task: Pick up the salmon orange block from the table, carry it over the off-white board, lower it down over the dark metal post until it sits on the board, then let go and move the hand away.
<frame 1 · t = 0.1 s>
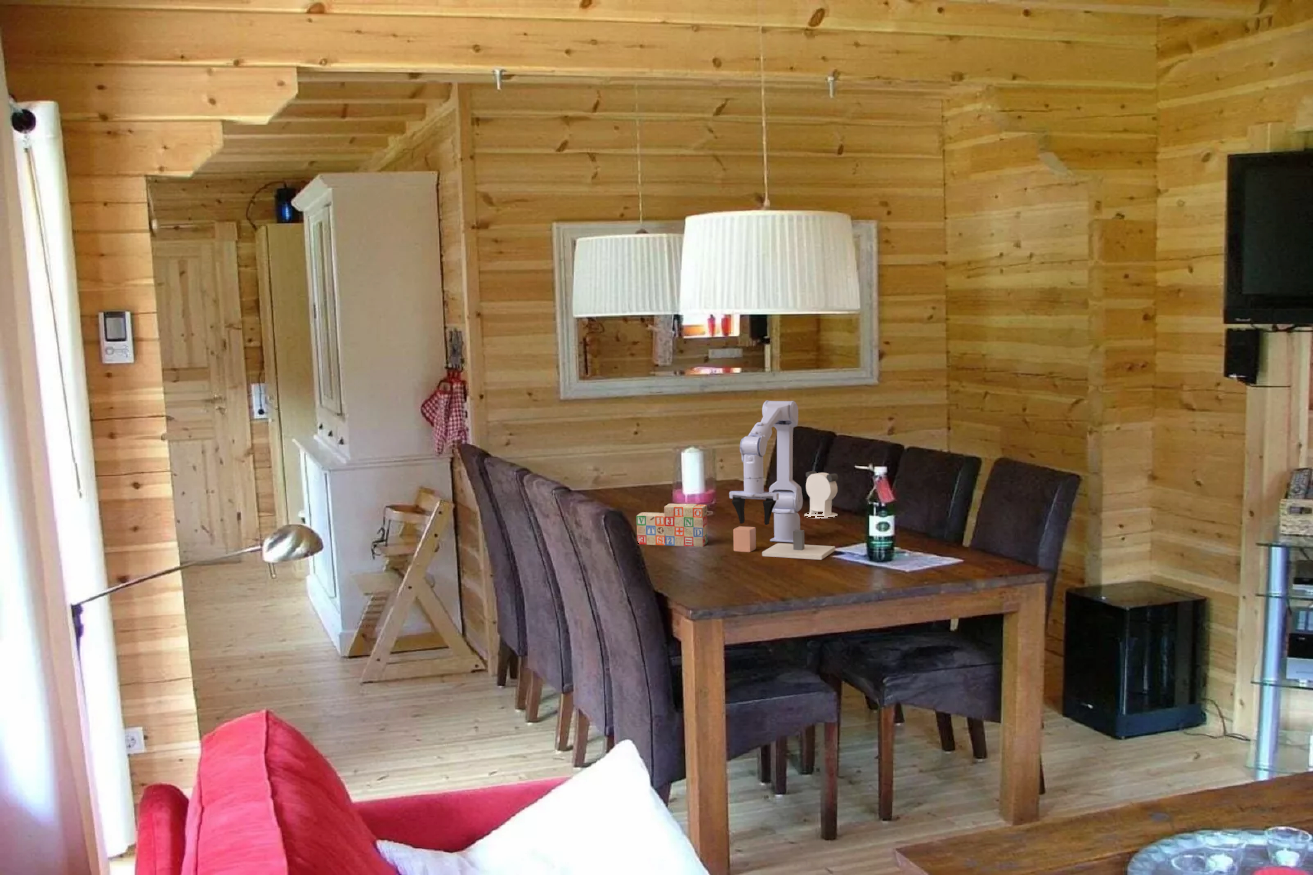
hand: (754, 523, 367), 10 cm above the table, tool pointing down, fingers open, 7 cm apart
beige rounded figure: (821, 516, 434), on the table
stack of blocks: (672, 544, 392), on the table
salmon orange block: (744, 549, 379), on the table
post board: (798, 553, 372), on the table
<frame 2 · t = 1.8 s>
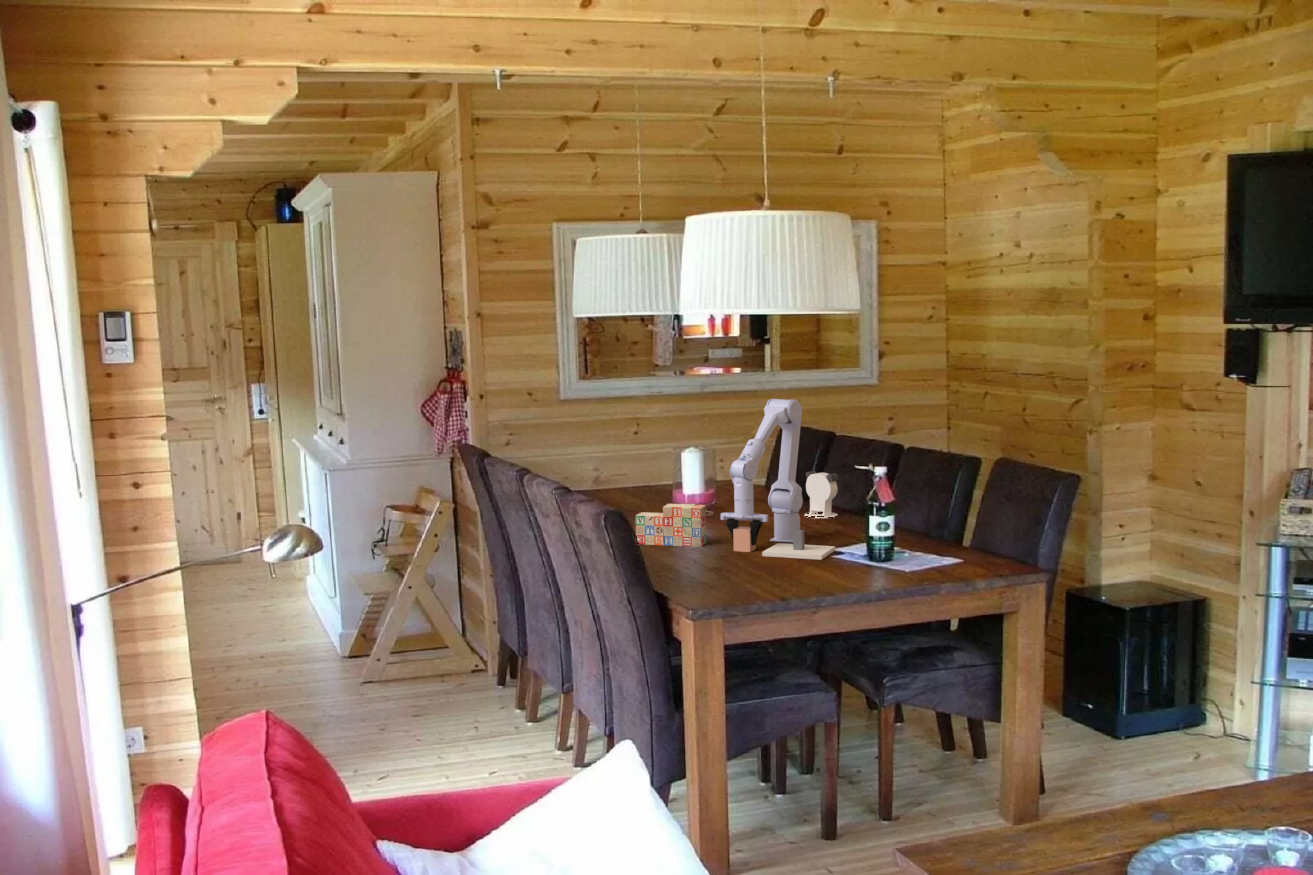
hand: (744, 544, 379), 2 cm above the table, tool pointing down, fingers closed on salmon orange block, 5 cm apart
salmon orange block: (744, 549, 379), on the table, touching gripper
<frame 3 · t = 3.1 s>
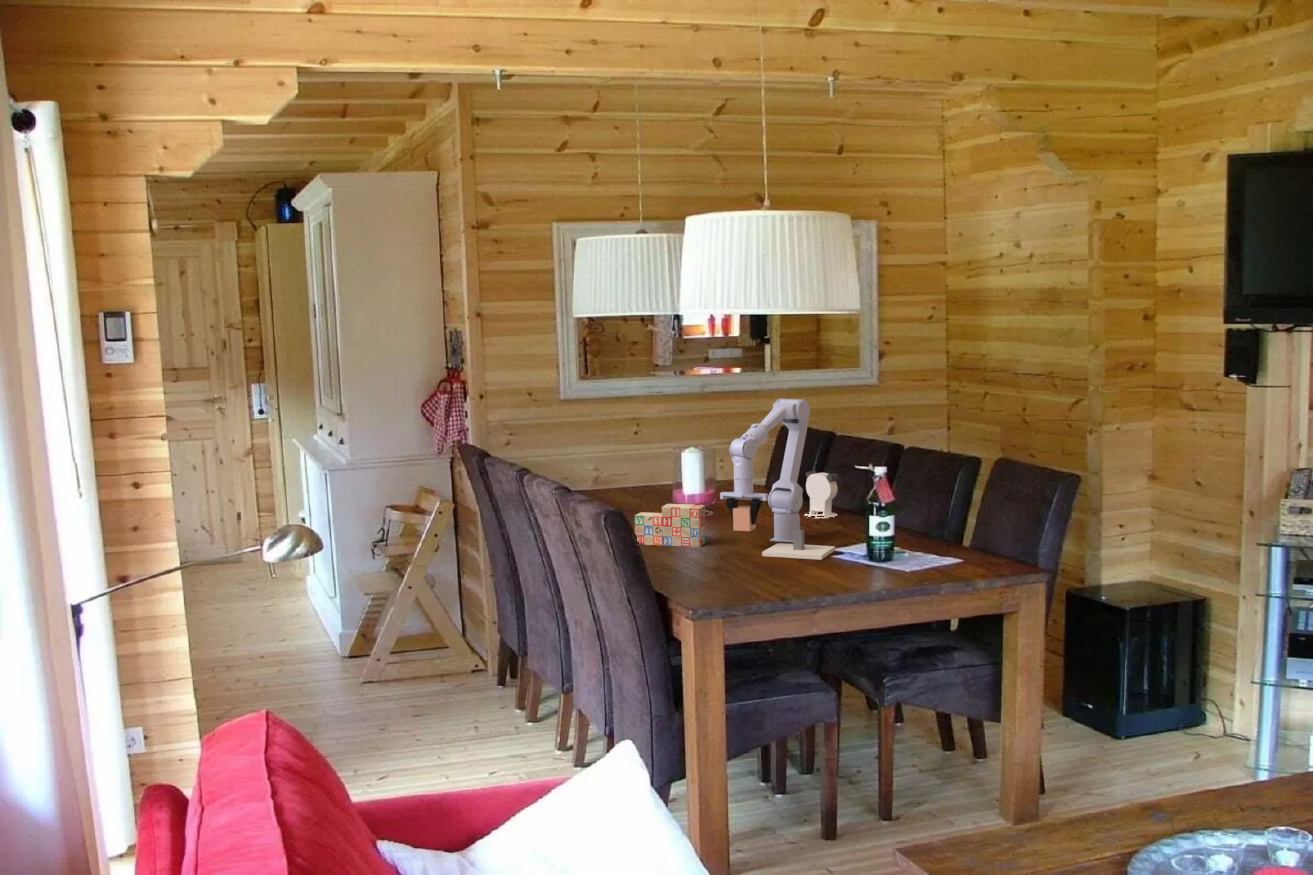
hand: (744, 523, 379), 8 cm above the table, tool pointing down, fingers closed on salmon orange block, 5 cm apart
salmon orange block: (744, 529, 379), point 6 cm above the table, touching gripper
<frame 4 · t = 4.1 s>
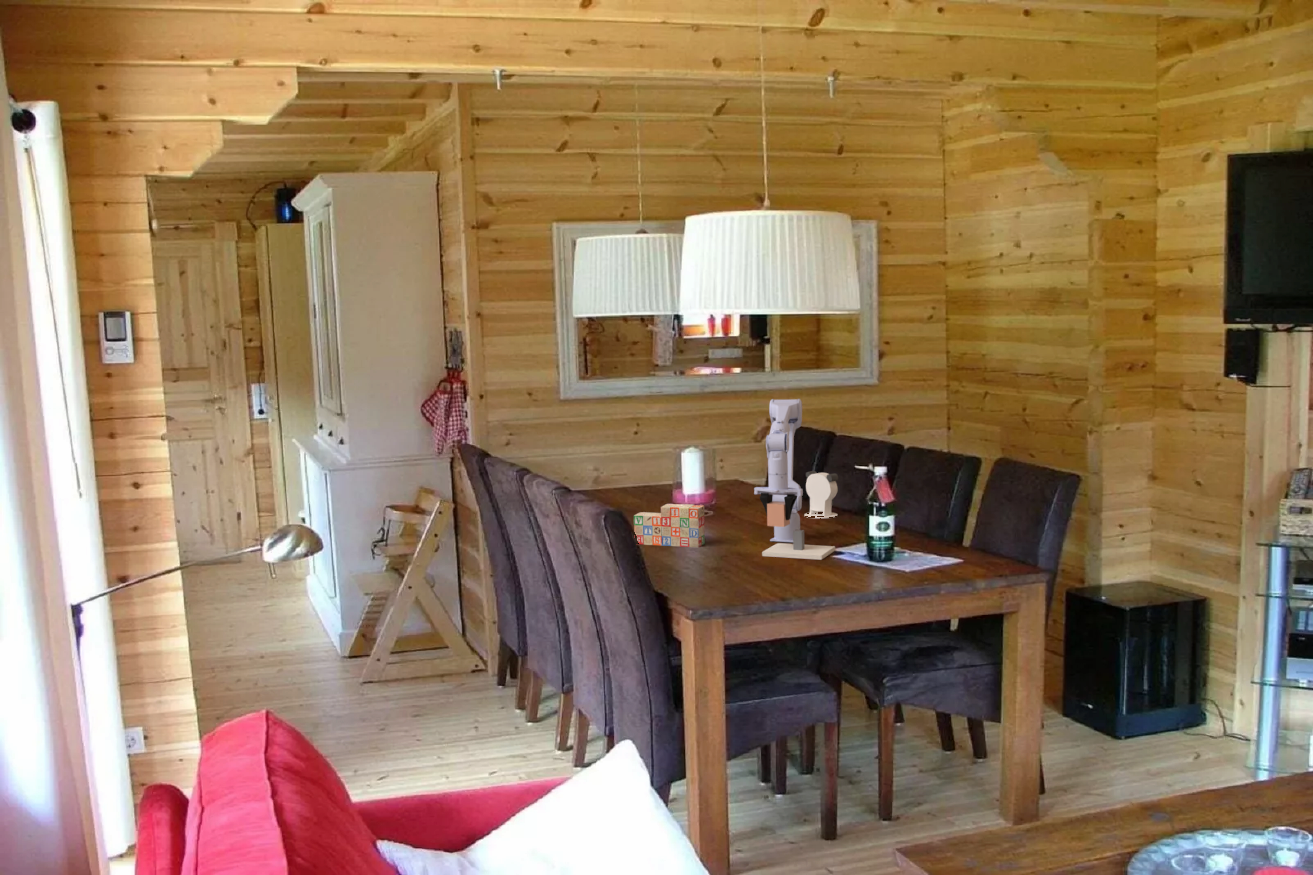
hand: (778, 519, 374), 10 cm above the table, tool pointing down, fingers closed on salmon orange block, 5 cm apart
salmon orange block: (778, 524, 374), point 8 cm above the table, touching gripper
everything else where it was.
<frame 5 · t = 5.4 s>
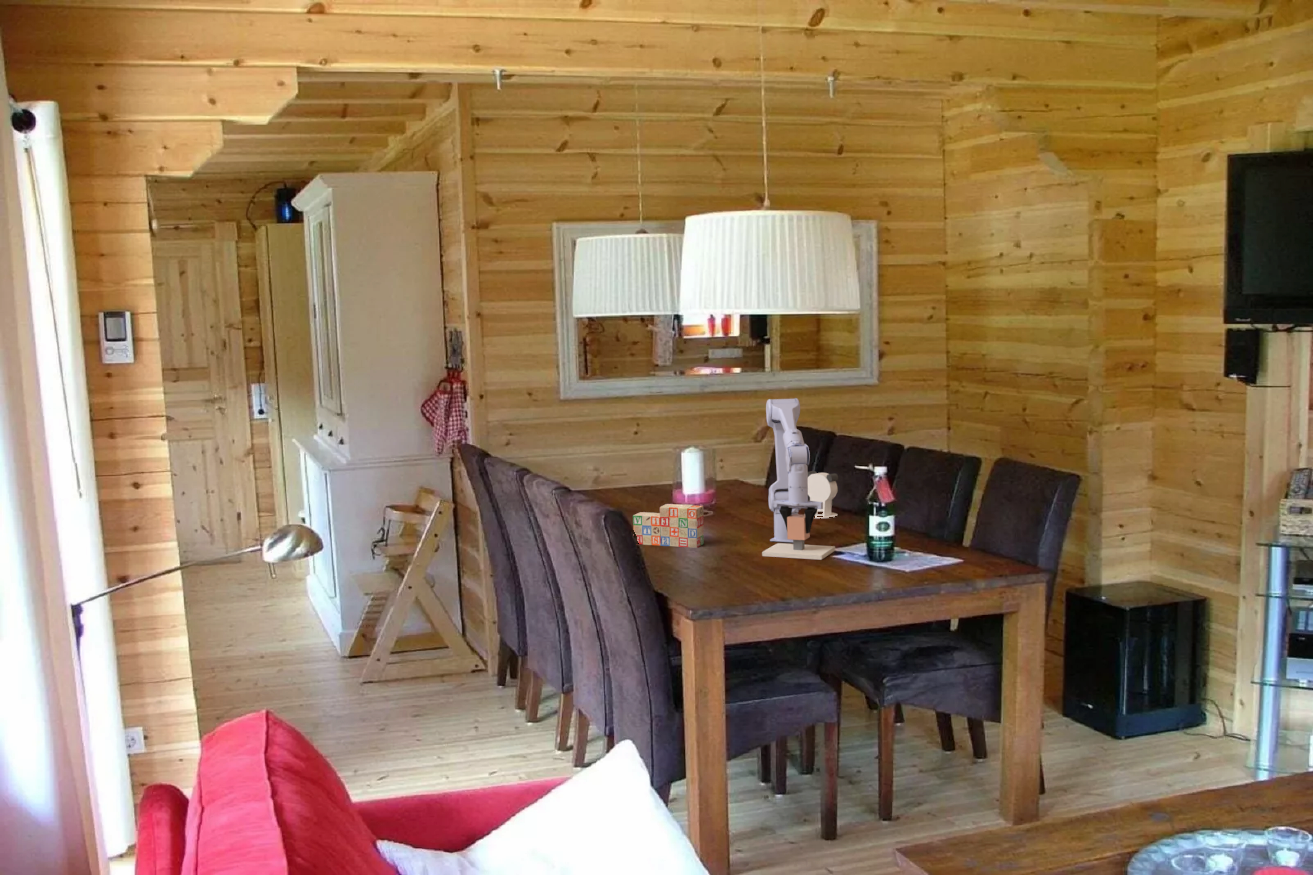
hand: (798, 532, 372), 6 cm above the table, tool pointing down, fingers closed on salmon orange block, 5 cm apart
salmon orange block: (798, 538, 372), point 5 cm above the table, touching gripper
when the fingers open (4 cm above the table, at t = 6.4 s): salmon orange block drops 1 cm, resting on post board.
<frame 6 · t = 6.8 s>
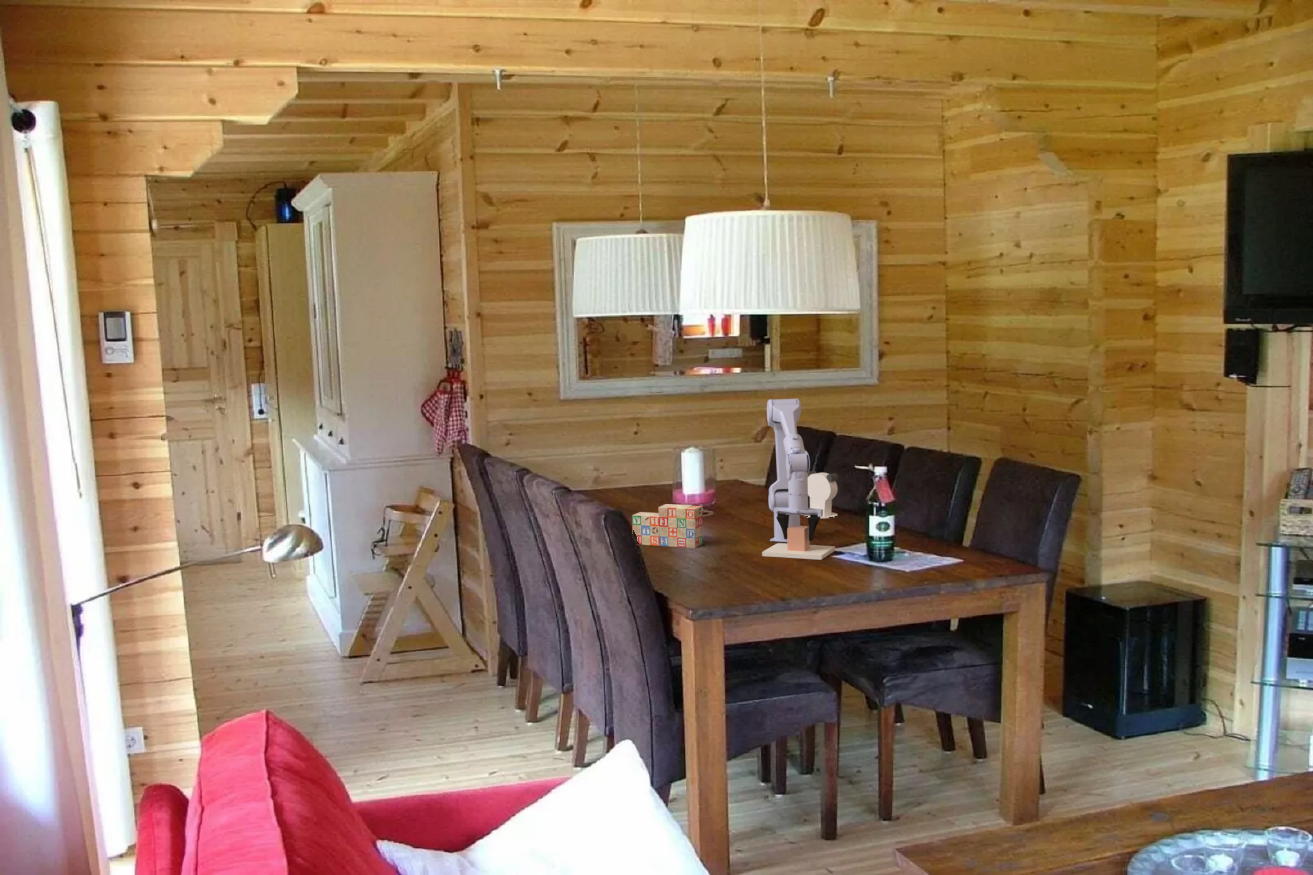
hand: (798, 539, 372), 4 cm above the table, tool pointing down, fingers open, 7 cm apart
salmon orange block: (798, 549, 372), point 1 cm above the table, touching post board
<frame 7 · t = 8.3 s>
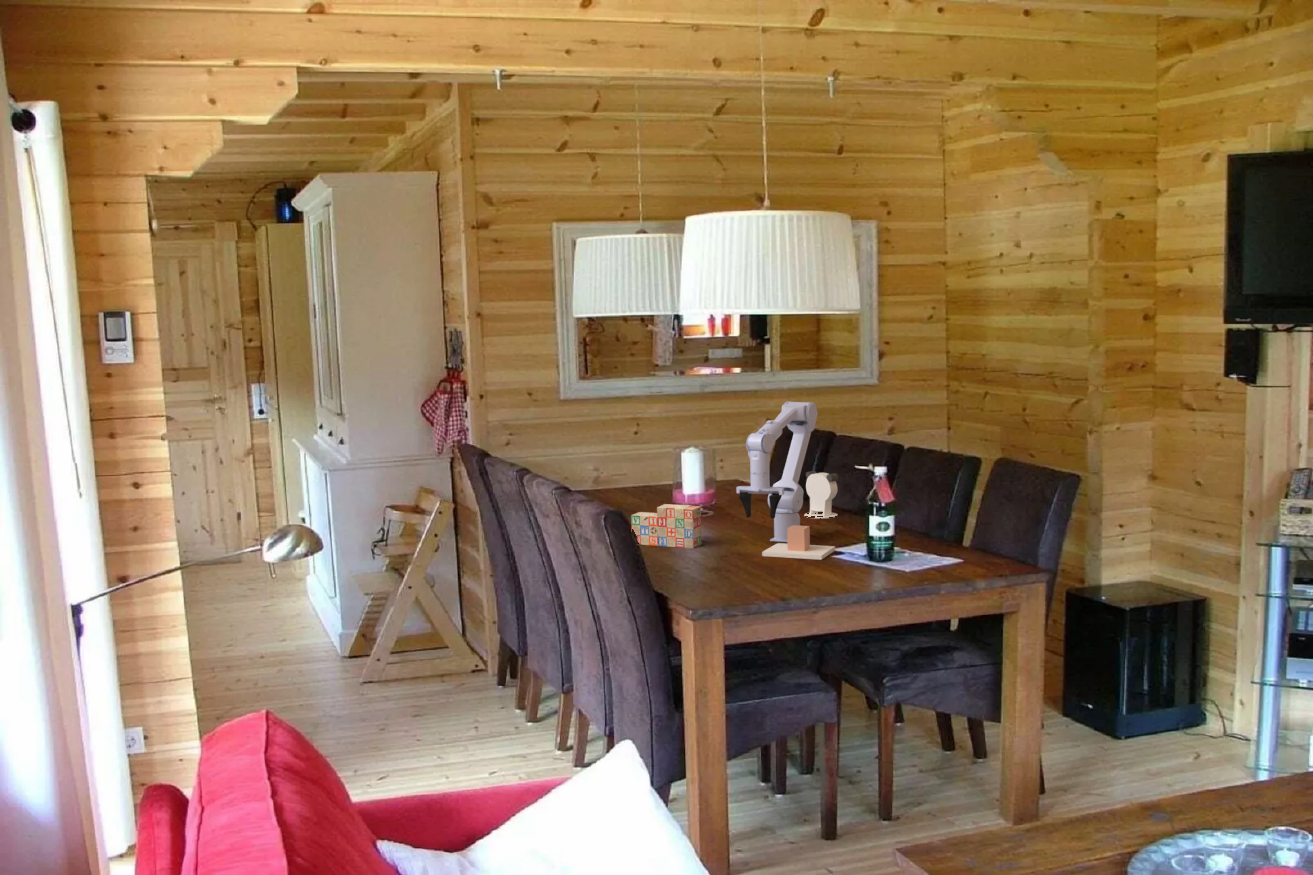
hand: (760, 517, 380), 9 cm above the table, tool pointing down, fingers open, 7 cm apart
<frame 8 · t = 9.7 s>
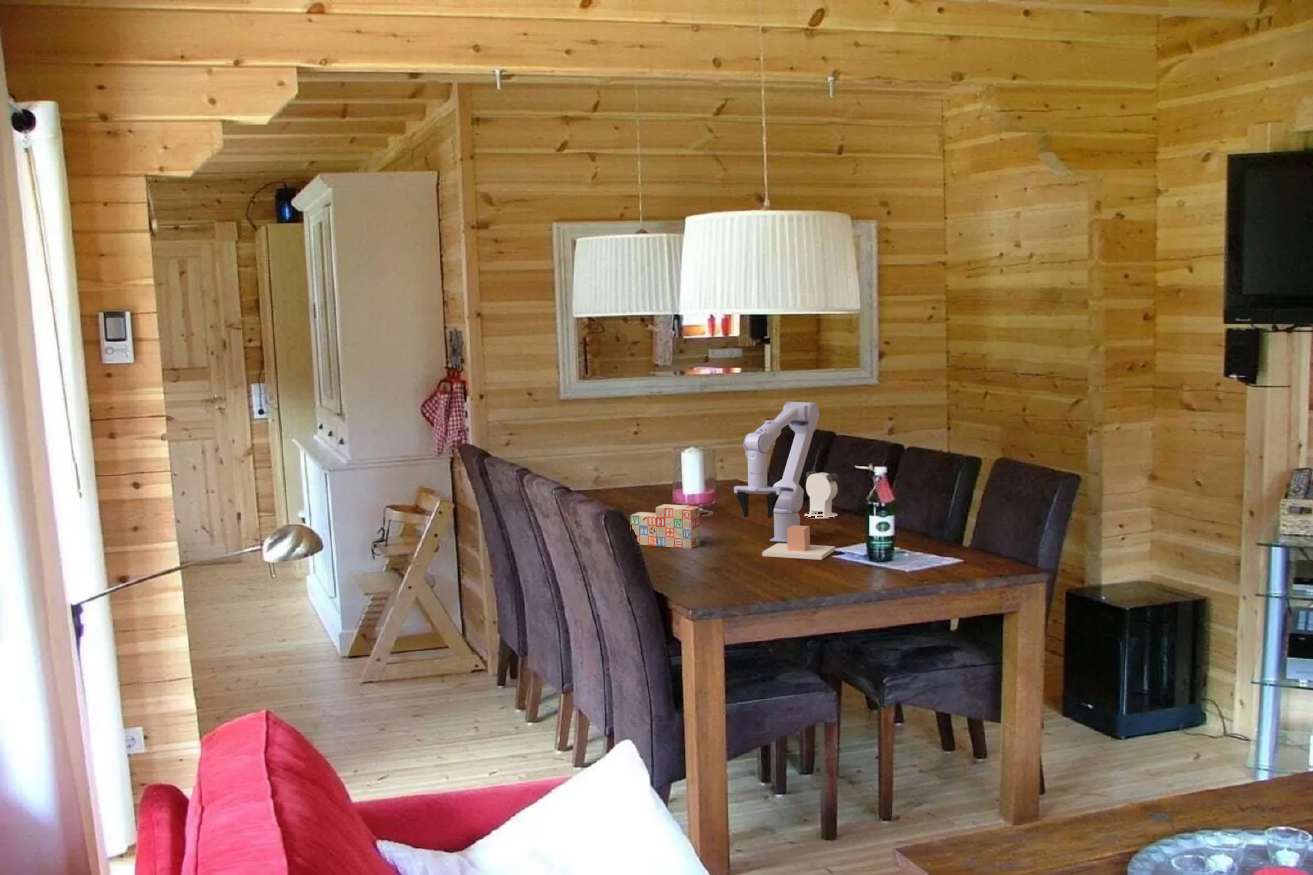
hand: (758, 517, 381), 9 cm above the table, tool pointing down, fingers open, 7 cm apart
at the end: salmon orange block 0.1 cm from the post board (horizontally); salmon orange block point 1.2 cm above the table; salmon orange block tilted 0° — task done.
